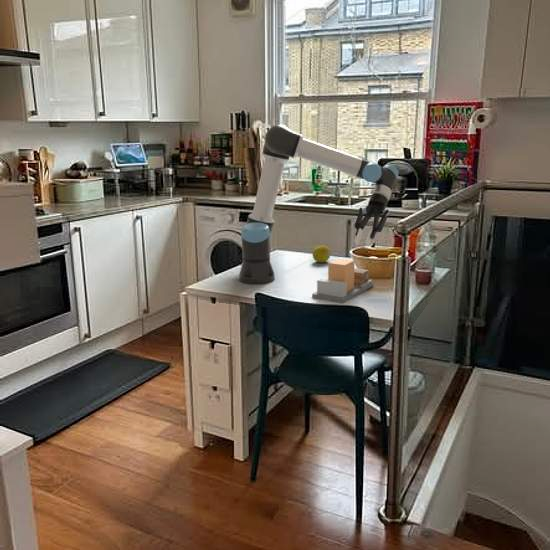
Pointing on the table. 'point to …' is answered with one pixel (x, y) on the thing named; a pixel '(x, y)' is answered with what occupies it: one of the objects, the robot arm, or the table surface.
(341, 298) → the vise
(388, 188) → the robot arm
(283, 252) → the table surface
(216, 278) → the table surface
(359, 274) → the block
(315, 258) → the lemon
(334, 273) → the block
